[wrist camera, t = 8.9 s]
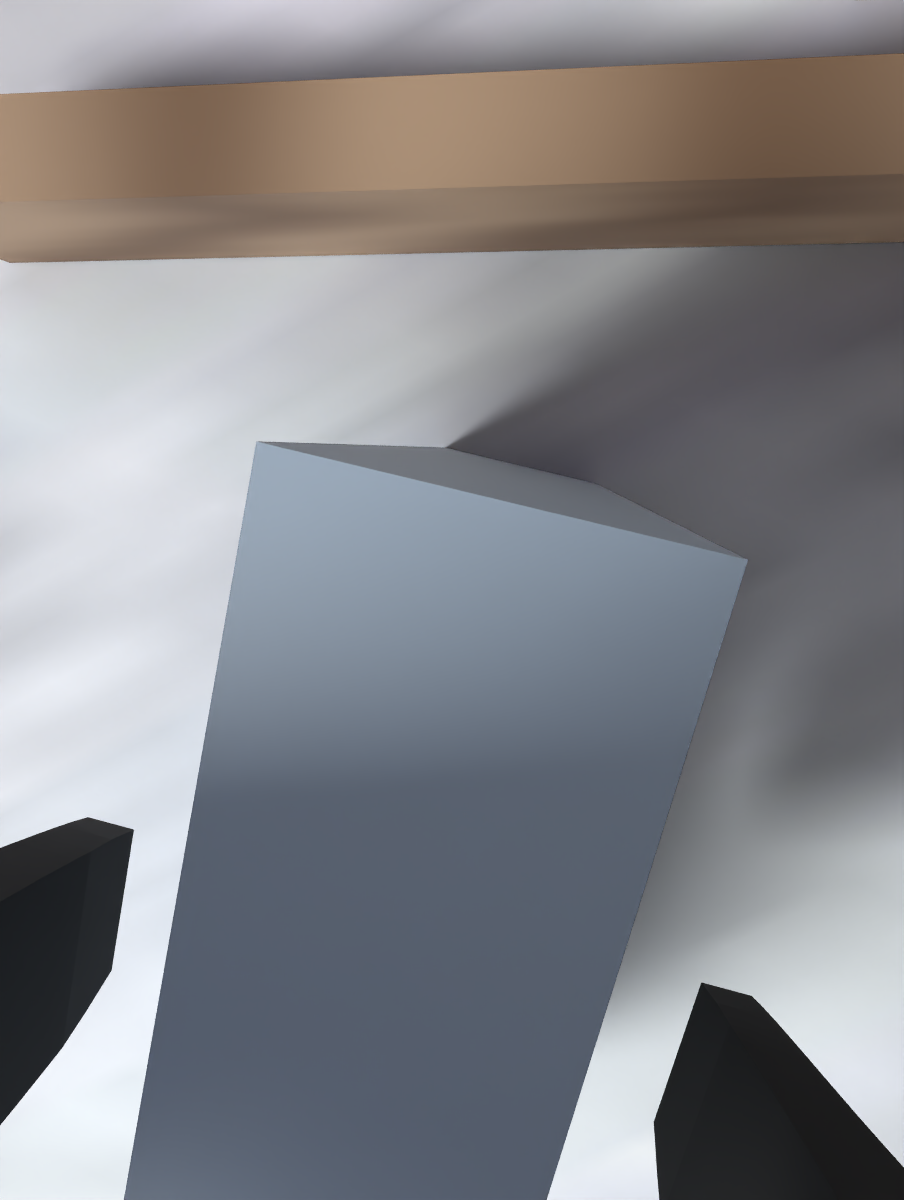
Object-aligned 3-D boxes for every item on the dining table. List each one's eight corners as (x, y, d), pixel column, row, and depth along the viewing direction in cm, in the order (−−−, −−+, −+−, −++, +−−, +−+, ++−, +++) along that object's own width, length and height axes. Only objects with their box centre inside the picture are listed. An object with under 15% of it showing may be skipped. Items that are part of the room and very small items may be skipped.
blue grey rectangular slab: (308, 1059, 15) (3, 1896, 6) (445, 447, 13) (257, 440, 4) (432, 1094, 15) (293, 1998, 6) (595, 482, 13) (748, 558, 4)
